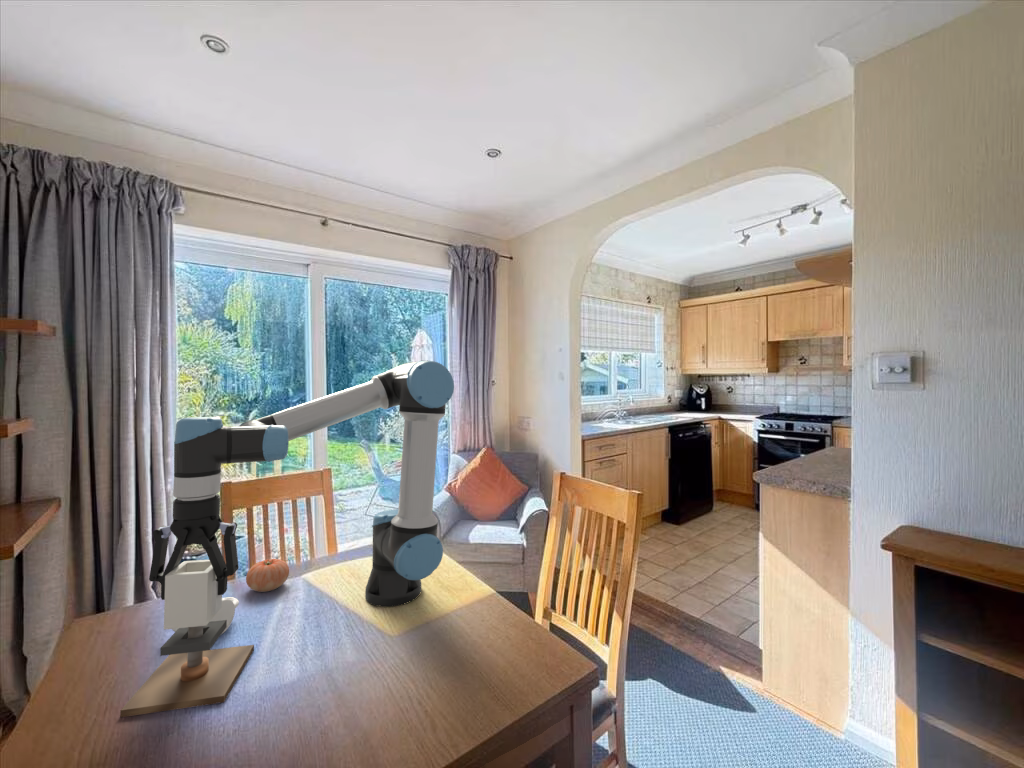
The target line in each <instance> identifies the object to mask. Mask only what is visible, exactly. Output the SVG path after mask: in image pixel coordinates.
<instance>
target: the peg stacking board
mask: <svg viewBox="0 0 1024 768" xmlns="http://www.w3.org/2000/svg"><path fill="white" fill-rule="evenodd" d="M202 636H203V626H196V627H188V639H189V638H198V637H202ZM254 651H255V644H250V645H241V646H240V645H239V646H231V647H223V648H216V649H210V650H206V651H198V652H189V653H181V654H172V655H167V657H166V658H165V659H164V660H163V661H162V662H161V663H160V665H159V666H158V667H157V668H156V669H155V670H154V672H153V673H152V674H151V675H150V676H149V677H148V678H147V679H146V681H145V682H144V683H143V684H142V685H141V687H140V688H138V690H137V691H136V692H135V693H134V695H132V697H130V699H129V700H128V701H127V702H126V703H125V705H123V707H121V709H120V715H119V716H120V718H125V717H133V716H140V715H147V714H151V713H152V714H154V713H160V712H165V711H174V710H180V709H187V708H188V709H189V708H195V707H200V706H201V707H202V706H208V705H216V704H221V703H225V701H226V700H227V698H228V696H229V694H230V693H231V691H232V689H233V688H234V686H235V684H236V682H237V681H238V679H239V677H240V675H241V673H242V671H243V670H244V668H245V667H246V665H247V663H248V662H249V660H250V658H251V657H252V655H253V653H254Z"/></svg>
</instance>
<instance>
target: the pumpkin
mask: <svg viewBox="0 0 1024 768" xmlns="http://www.w3.org/2000/svg"><path fill="white" fill-rule="evenodd" d="M289 575H290V567H289V565H288V563H287V562H286V561H284V560H283V559H279V558H267V559H264V560H261V561H258V562H256V563H255V564H253V565H252V566H251V567H250V568H249V570H248V571H247V573H246V575H245V582H246V585H247V586H248V588H250V589H251V590H253V591H255V592H260V593H261V592H262V593H264V592H265V593H266V592H270V591H275V590H277V588H279V587H281V586H282V585H284V584H285V582H286V581H287V580H288V578H289Z"/></svg>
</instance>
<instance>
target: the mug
mask: <svg viewBox="0 0 1024 768" xmlns="http://www.w3.org/2000/svg"><path fill="white" fill-rule="evenodd" d="M239 604H240V602H239V600H238V598H235V597H233V596H228V597H227V596H226V597H222V608H221V609H220V610H219V611H218V612H217V614H216V615H215V616H214V617H213V618H212V619H211V621H221V620H227V627H226V628H225V630H224V631H223V633H222V634H221V635H220V636H222V635H223V634H224V633H225V632H226V631H227V630H228V629H229V627H230V626H231V625H232V622H233V621H234V617H235V613H236V608H237V607H238V606H239ZM211 621H210V622H211ZM178 629H179V628H176V629H171V630H172V631H173V632H174V633H175V632H176V631H177V630H178Z"/></svg>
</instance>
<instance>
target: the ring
mask: <svg viewBox="0 0 1024 768" xmlns="http://www.w3.org/2000/svg"><path fill="white" fill-rule="evenodd" d="M226 627H227V620H221V621H211V622H209V623H208V624H207V625H206V626H203V636H202V637H198V638H189V639H188V627H186V628H179V629H178V630H177V631H176V632H174V633H173V634H172V635H171V636H170V637H169V638H168V639H167V640H166V641H165V642H164V643H163V644H162V646H160V654H159V655H160V657H161V656H163V657H164V656H169V655H172V654H181V653H189V652H198V651H206V650H212V648H213V646H214V645H215V644H216V642H217V640H218V639H219V638H220V637H221V636H222V635H223V634H224V633H223V631H224V630H225V628H226ZM222 633H223V634H222ZM221 634H222V635H221Z"/></svg>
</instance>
